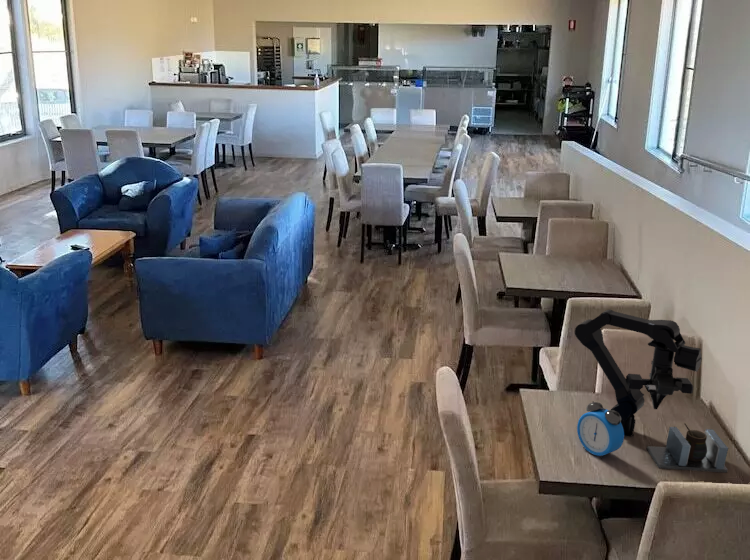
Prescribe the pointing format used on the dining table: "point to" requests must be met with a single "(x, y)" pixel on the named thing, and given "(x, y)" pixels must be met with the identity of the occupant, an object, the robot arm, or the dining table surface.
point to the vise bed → (710, 463)
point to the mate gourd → (696, 445)
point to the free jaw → (678, 446)
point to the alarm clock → (600, 430)
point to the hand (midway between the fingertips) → (655, 408)
